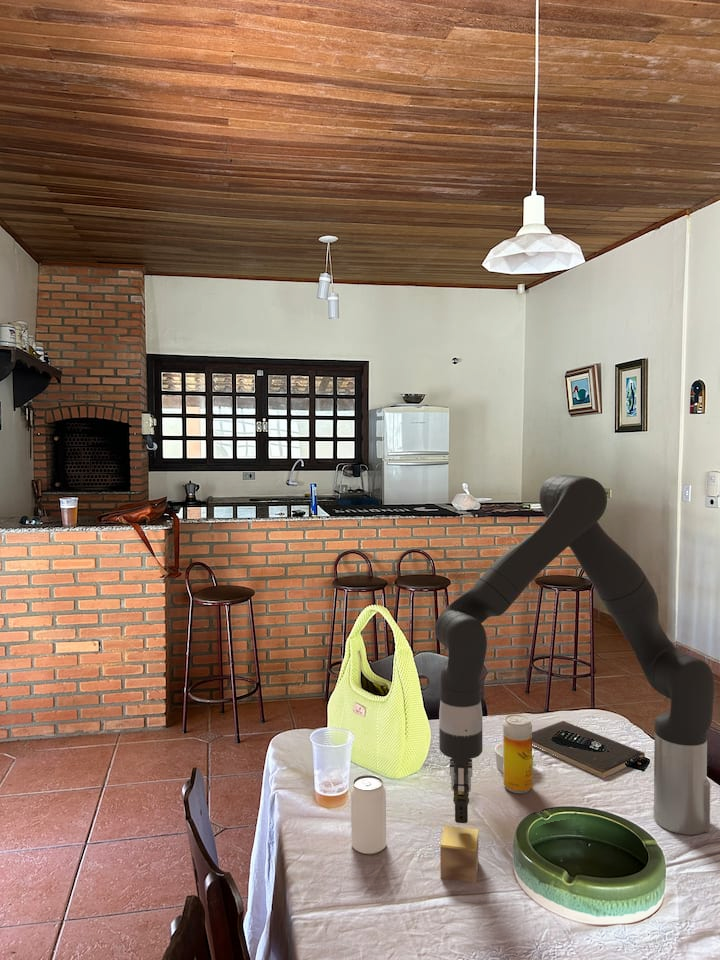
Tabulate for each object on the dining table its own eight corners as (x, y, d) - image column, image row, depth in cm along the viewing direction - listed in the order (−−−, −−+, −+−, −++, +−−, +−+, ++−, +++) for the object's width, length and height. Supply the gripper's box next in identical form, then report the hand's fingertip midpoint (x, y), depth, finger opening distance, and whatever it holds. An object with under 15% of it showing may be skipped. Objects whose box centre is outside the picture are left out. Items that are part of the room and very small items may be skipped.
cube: (475, 849, 115) (476, 883, 115) (478, 829, 121) (478, 862, 121) (440, 844, 116) (440, 878, 117) (444, 825, 122) (444, 857, 123)
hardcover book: (602, 781, 150) (602, 771, 150) (522, 744, 169) (522, 735, 169) (645, 761, 159) (645, 751, 159) (564, 728, 178) (564, 720, 178)
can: (361, 859, 122) (360, 794, 122) (345, 841, 128) (344, 778, 127) (392, 849, 125) (392, 785, 125) (375, 831, 131) (375, 770, 130)
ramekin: (539, 765, 157) (539, 746, 157) (526, 781, 150) (526, 762, 150) (502, 756, 162) (502, 738, 162) (488, 771, 155) (488, 752, 154)
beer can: (532, 795, 143) (532, 726, 143) (503, 793, 145) (503, 724, 144) (531, 781, 149) (531, 714, 149) (503, 779, 151) (503, 712, 150)
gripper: (483, 742, 113) (484, 844, 114) (481, 711, 126) (481, 802, 127) (438, 740, 114) (438, 840, 115) (440, 709, 127) (441, 800, 128)
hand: (461, 820), depth 121 cm, fingers closed
